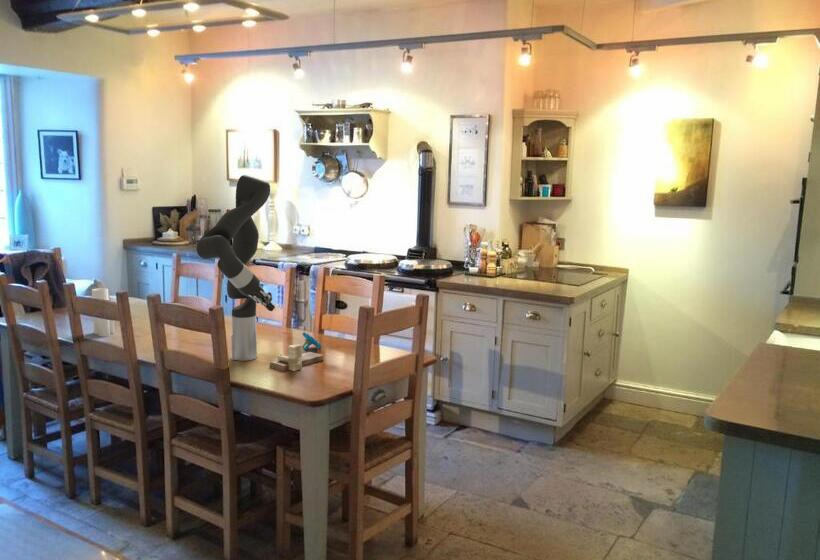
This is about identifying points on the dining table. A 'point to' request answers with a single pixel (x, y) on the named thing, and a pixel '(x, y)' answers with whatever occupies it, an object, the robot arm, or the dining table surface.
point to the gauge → (293, 357)
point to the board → (306, 359)
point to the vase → (102, 325)
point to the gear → (310, 341)
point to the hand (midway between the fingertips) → (272, 309)
